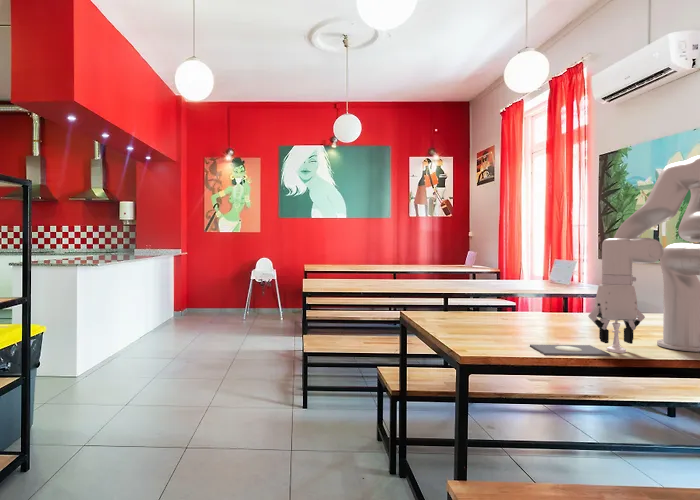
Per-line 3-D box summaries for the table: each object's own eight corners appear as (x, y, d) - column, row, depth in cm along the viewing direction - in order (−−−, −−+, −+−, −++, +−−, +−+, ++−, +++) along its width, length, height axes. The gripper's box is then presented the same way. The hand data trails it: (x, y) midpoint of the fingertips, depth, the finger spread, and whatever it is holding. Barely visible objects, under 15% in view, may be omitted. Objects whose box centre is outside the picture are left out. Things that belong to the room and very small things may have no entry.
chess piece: (629, 353, 124) (629, 318, 124) (610, 352, 125) (610, 317, 125) (622, 349, 129) (622, 315, 129) (603, 348, 130) (603, 315, 130)
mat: (589, 346, 132) (589, 344, 132) (610, 355, 121) (610, 353, 121) (529, 346, 133) (529, 344, 133) (544, 354, 122) (544, 352, 122)
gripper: (638, 280, 130) (638, 340, 130) (580, 279, 131) (579, 339, 131) (655, 282, 123) (655, 345, 123) (593, 281, 123) (592, 345, 123)
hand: (616, 341), depth 127 cm, fingers open, 6 cm apart
